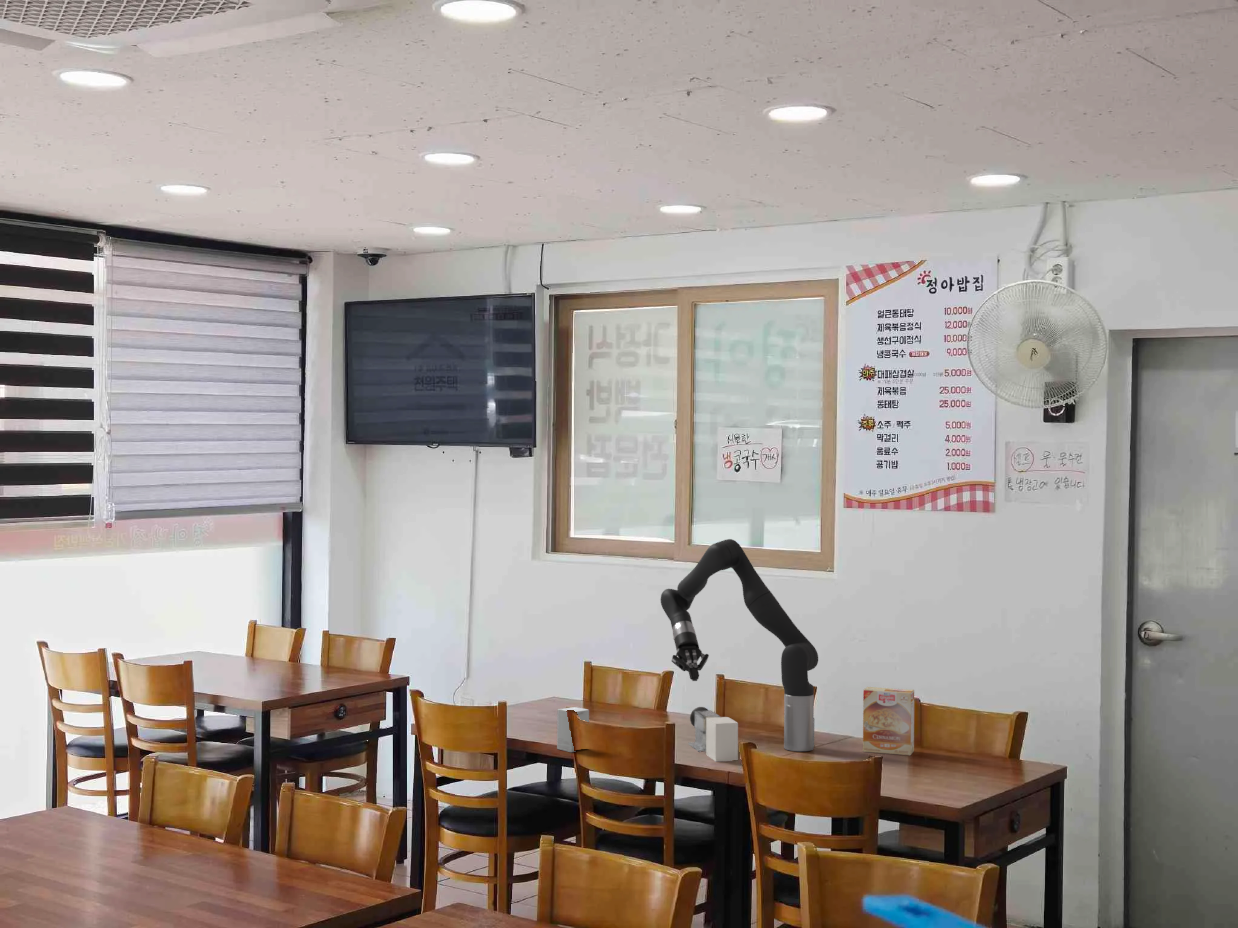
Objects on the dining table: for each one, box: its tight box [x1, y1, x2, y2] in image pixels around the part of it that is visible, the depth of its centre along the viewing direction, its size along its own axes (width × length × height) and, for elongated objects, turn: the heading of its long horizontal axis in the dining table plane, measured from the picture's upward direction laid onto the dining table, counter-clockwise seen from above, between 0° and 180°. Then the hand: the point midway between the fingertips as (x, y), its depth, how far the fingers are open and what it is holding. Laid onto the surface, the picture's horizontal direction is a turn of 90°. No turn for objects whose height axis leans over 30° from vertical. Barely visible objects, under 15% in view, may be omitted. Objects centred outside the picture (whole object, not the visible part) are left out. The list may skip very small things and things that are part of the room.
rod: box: [689, 706, 709, 728], centre depth 431 cm, size 23×7×7 cm, turn 13°
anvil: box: [687, 709, 721, 753], centre depth 435 cm, size 12×9×11 cm
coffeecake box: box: [862, 686, 915, 756], centre depth 429 cm, size 15×7×20 cm, turn 70°
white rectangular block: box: [705, 716, 739, 762], centre depth 419 cm, size 10×7×11 cm
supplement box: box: [556, 706, 590, 753], centre depth 430 cm, size 7×7×13 cm
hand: (695, 679), depth 448 cm, fingers closed
